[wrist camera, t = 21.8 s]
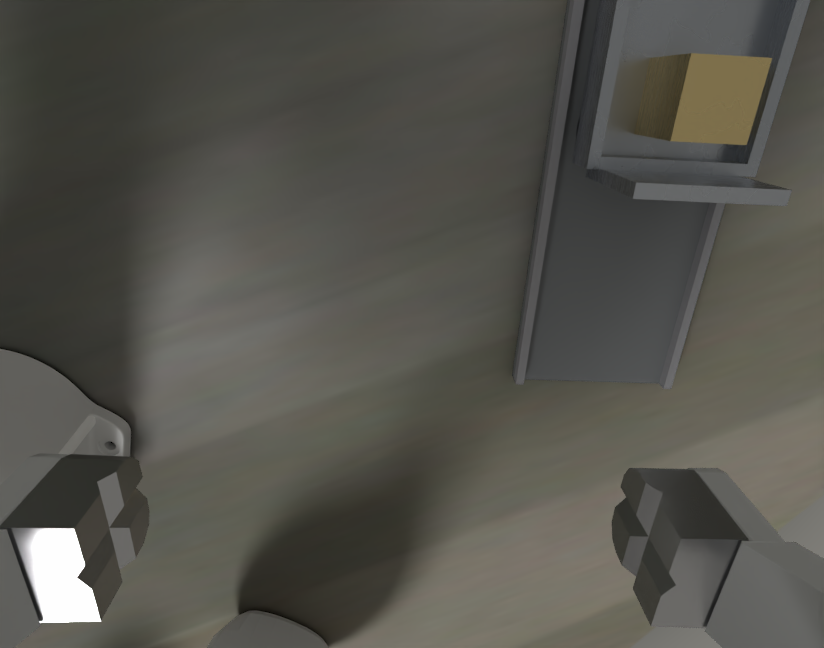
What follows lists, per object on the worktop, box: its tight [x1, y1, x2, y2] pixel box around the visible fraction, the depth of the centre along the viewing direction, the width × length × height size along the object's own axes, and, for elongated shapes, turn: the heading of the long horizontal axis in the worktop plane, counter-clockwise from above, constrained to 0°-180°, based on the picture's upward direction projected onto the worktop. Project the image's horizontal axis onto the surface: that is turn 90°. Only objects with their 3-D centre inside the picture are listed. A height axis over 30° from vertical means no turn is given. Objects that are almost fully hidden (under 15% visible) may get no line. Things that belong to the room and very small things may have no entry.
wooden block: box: [634, 53, 772, 145], centre depth 28 cm, size 4×4×4 cm
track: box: [512, 0, 725, 389], centre depth 34 cm, size 34×12×3 cm, turn 177°
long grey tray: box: [572, 0, 810, 206], centre depth 27 cm, size 17×10×9 cm, turn 177°
